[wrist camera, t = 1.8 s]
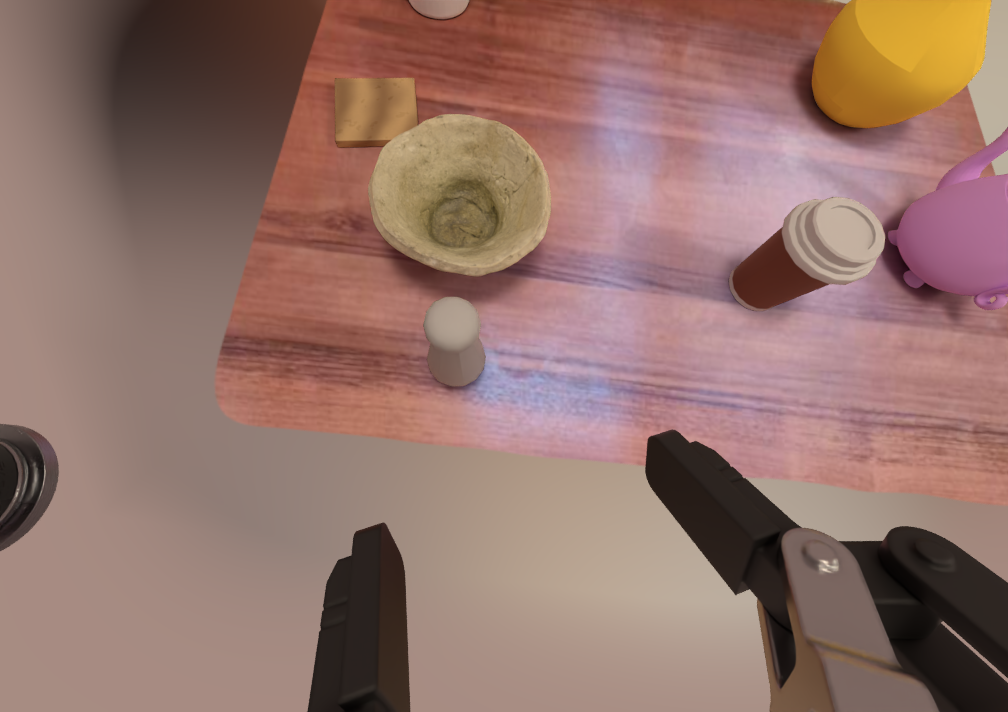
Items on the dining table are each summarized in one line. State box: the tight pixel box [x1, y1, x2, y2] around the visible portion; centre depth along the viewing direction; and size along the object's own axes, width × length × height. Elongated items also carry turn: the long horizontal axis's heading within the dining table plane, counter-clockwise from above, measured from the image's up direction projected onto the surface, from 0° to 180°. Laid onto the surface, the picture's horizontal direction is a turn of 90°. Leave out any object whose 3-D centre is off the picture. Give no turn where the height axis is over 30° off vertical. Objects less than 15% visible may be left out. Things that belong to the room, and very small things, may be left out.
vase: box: [812, 0, 991, 128], centre depth 47 cm, size 18×18×19 cm
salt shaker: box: [423, 297, 486, 386], centre depth 33 cm, size 6×6×13 cm
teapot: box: [888, 127, 1008, 310], centre depth 43 cm, size 20×14×12 cm
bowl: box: [368, 114, 551, 277], centre depth 37 cm, size 14×18×15 cm
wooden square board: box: [335, 78, 418, 147], centre depth 47 cm, size 10×10×1 cm
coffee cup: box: [729, 197, 885, 311], centre depth 39 cm, size 9×9×12 cm
